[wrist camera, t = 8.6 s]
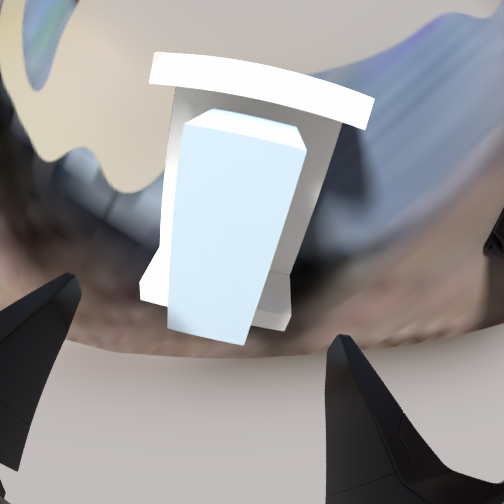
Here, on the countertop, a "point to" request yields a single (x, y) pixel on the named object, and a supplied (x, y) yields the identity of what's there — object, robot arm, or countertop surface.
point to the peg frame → (262, 105)
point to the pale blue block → (228, 219)
